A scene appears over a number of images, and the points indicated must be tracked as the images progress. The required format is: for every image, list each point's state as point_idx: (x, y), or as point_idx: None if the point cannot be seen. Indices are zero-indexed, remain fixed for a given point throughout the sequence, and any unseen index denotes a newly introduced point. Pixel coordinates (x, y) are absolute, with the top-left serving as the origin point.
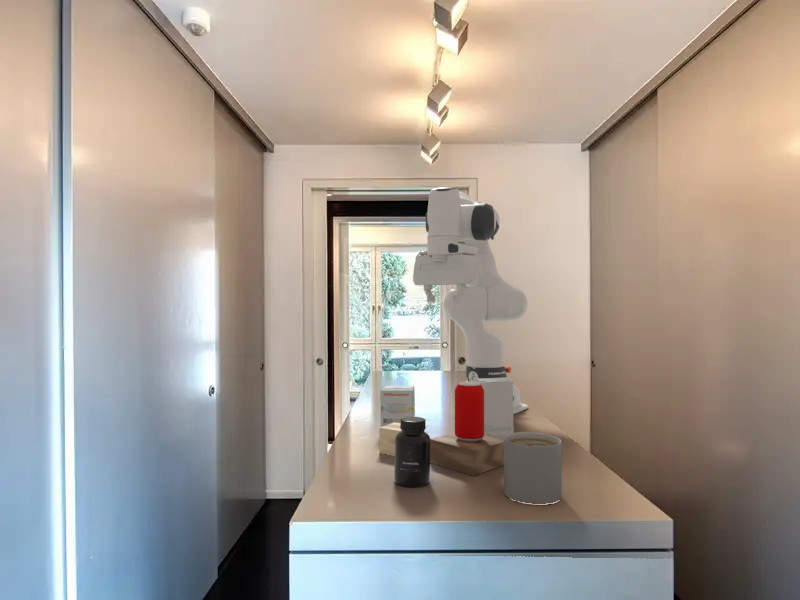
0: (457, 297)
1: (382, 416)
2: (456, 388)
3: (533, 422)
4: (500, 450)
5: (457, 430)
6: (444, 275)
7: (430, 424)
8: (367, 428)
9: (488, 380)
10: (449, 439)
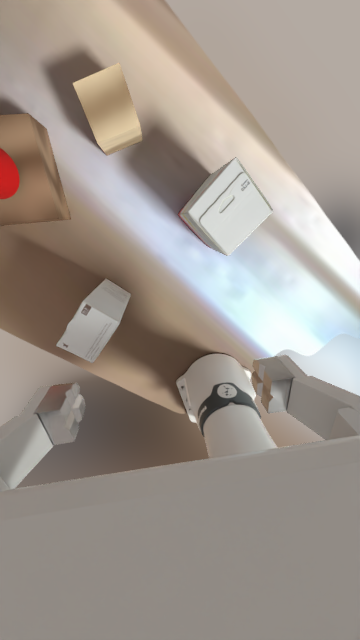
0: (30, 403)
1: (216, 171)
2: None
3: (138, 381)
4: None
5: None
6: (60, 630)
7: (210, 279)
8: None
9: (84, 320)
10: (10, 143)
